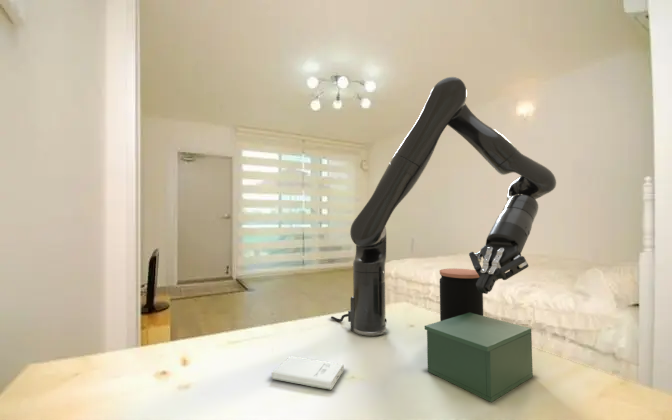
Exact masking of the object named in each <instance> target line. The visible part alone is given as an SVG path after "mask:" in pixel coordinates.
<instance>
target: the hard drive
mask: <svg viewBox="0 0 672 420" xmlns="http://www.w3.org/2000/svg"><path fill="white" fill-rule="evenodd" d="M344 367H345V365H344V364H342V363H335V362H329V361H324V360H317V359H312V358H305V357H299V356H293V355H290V356H288V357H287V358H286V359H285V360H284V361H283V362H281V363H280V365H278V366H277V367H276V368H275V369H274V370H273V371H272V372H271V379H272V380H275V381H281V382H287V383H292V384H296V385H303V386H307V387H312V388H319V389H323V390H324V389H325V390H330V391H331V390H332V389H333V388H334V387H335V385H336V383H337V382H338V381H339V379H340V377H341V376H342V375H343V373H344V370H345V368H344Z"/></svg>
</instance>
